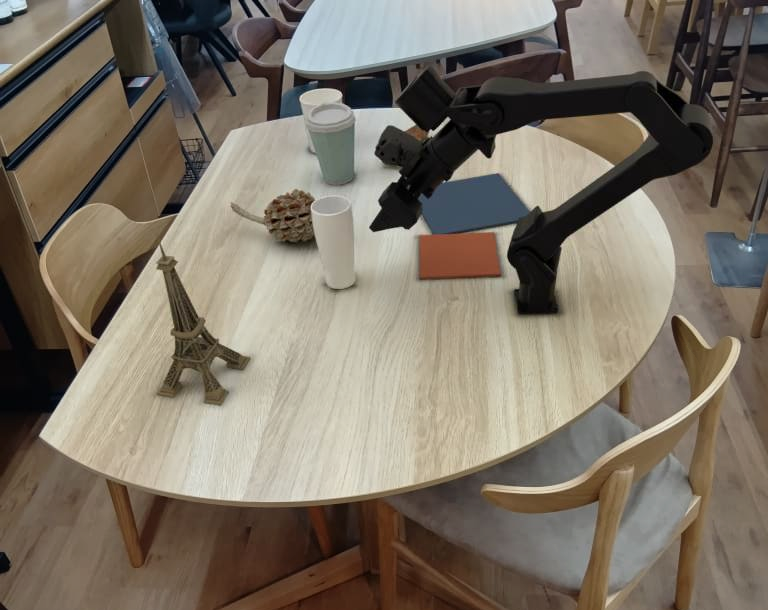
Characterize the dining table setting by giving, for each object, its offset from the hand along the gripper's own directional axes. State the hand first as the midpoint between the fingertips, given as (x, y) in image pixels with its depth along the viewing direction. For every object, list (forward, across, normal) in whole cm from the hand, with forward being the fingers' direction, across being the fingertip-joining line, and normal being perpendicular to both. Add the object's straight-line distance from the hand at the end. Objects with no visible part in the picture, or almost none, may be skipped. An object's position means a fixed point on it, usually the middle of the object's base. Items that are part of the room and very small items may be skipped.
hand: (380, 215), depth 107 cm
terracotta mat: (+2, -11, +17) cm, 21 cm away
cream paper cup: (+31, -52, -12) cm, 62 cm away
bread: (+17, -52, +2) cm, 55 cm away
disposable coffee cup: (+25, -37, -6) cm, 45 cm away
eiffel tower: (+24, +29, -5) cm, 38 cm away
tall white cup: (+15, +1, +4) cm, 16 cm away
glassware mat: (+4, -30, +16) cm, 34 cm away
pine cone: (+27, -11, -8) cm, 30 cm away
